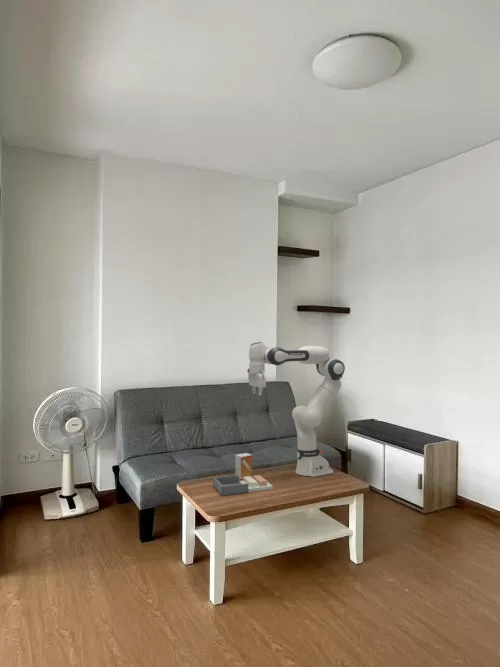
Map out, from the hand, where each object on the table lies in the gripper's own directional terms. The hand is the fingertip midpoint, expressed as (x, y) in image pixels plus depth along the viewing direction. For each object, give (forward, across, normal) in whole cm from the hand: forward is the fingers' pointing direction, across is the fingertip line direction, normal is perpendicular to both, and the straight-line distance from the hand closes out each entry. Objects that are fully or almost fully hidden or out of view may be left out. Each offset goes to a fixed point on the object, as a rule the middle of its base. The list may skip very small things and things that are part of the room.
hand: (257, 394), depth 270 cm
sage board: (+48, -14, +7) cm, 50 cm away
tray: (+48, -14, +21) cm, 54 cm away
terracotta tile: (+46, -14, +4) cm, 49 cm away
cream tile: (+46, -14, +10) cm, 49 cm away
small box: (+48, +5, +7) cm, 49 cm away
